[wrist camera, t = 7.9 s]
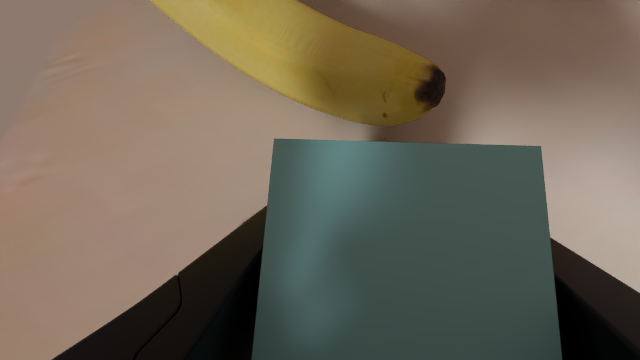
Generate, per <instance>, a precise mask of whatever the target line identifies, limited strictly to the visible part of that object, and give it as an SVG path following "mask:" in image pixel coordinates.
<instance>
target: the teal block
mask: <svg viewBox="0 0 640 360" xmlns="http://www.w3.org/2000/svg"><path fill="white" fill-rule="evenodd" d="M252 360H562V352H561V342H560V332H559V322H558V312H557V302H556V292H555V282H554V272H553V262H552V252H551V242H550V232H549V222H548V212H547V203H546V193H545V183H544V173H543V163H542V153H541V146H515V145H480V144H445V143H410V142H375V141H340V140H305V139H274V145H273V155H272V164H271V174H270V184H269V194H268V204H267V213H266V223H265V233H264V243H263V253H262V263H261V272H260V282H259V292H258V302H257V312H256V321H255V331H254V341H253V351H252Z"/></svg>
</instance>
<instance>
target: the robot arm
mask: <svg viewBox="0 0 640 360" xmlns="http://www.w3.org/2000/svg"><path fill="white" fill-rule="evenodd" d="M266 213H267V206H265V207H264V208H263V209H261V210H260V211H259V212H258V213H256V214H255V215H254V216H252V217H251V218H250V219H248V220H247V221H246V222H244V223H243V224H242V225H241V226H239V227H238V228H237V229H235V230H234V231H233V232H231V233H230V234H229V235H227V236H226V237H225V238H223V239H222V240H221V241H220V242H218V243H217V244H216V245H214V246H213V247H212V248H210V249H209V250H208V251H206V252H205V253H204V254H202V255H201V256H200V257H199V258H197V259H196V260H195V261H193V262H192V263H191V264H189V265H188V266H187V267H185V268H184V269H183V270H182V271H180V272H179V273H178V275H175V276H173V277H172V278H171V279H169V280H168V281H167V282H166V283H164V284H163V285H162V286H160V287H159V288H158V289H156V290H155V291H153V292H152V293H151V294H149V295H148V296H147V297H145V298H144V299H142V300H141V301H140V302H138V303H137V304H135V305H134V306H133V307H131V308H130V309H128V310H127V311H125V312H124V313H122V314H121V315H119V316H118V317H116V318H115V319H113V320H112V321H110V322H109V323H107V324H106V325H104V326H103V327H101V328H100V329H98V330H97V331H95V332H93V333H92V334H90V335H89V336H87V337H86V338H84V339H83V340H81V341H80V342H78V343H77V344H75V345H73V346H72V347H70V348H69V349H67V350H66V351H64V352H63V353H61V354H60V355H58V356H57V357H55V358H53V359H52V360H252V351H253V341H254V331H255V321H256V312H257V302H258V292H259V282H260V272H261V263H262V253H263V243H264V233H265V223H266ZM550 242H551V252H552V262H553V272H554V282H555V292H556V302H557V312H558V322H559V332H560V342H561V352H562V360H640V293H639V292H637V291H636V290H634V289H632V288H631V287H629V286H628V285H626V284H624V283H623V282H621V281H620V280H618V279H616V278H615V277H613V276H612V275H610V274H608V273H607V272H605V271H603V270H602V269H600V268H599V267H597V266H595V265H594V264H592V263H591V262H589V261H587V260H586V259H584V258H583V257H581V256H579V255H578V254H576V253H575V252H573V251H571V250H570V249H568V248H566V247H565V246H563V245H562V244H560V243H558V242H557V241H555V240H554V239H552V238H550Z"/></svg>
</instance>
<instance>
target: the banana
mask: <svg viewBox="0 0 640 360" xmlns="http://www.w3.org/2000/svg"><path fill="white" fill-rule="evenodd" d="M150 1H151V2H152V3H153V4H154V5H155V6H156V7H158V8H159V9H160V10H161V11H162V12H163V13H165V14H166V15H167V16H168V17H169V18H171V19H172V20H173V21H174V22H175V23H177V24H178V25H179V26H180V27H181V28H183V29H184V30H185V31H186V32H188V33H189V34H190V35H191V36H193V37H194V38H195V39H196V40H198V41H199V42H200V43H202V44H203V45H204V46H206V47H207V48H208V49H210V50H211V51H212V52H214V53H215V54H217V55H218V56H219V57H221V58H222V59H224V60H225V61H226V62H228V63H229V64H231V65H232V66H234V67H235V68H237V69H238V70H240V71H241V72H243V73H245V74H246V75H248V76H250V77H251V78H253V79H255V80H256V81H258V82H260V83H262V84H264V85H265V86H267V87H269V88H271V89H273V90H275V91H276V92H278V93H280V94H282V95H284V96H287V97H289V98H291V99H293V100H295V101H297V102H299V103H302V104H304V105H306V106H309V107H311V108H314V109H316V110H319V111H321V112H324V113H327V114H330V115H333V116H336V117H339V118H343V119H346V120H350V121H354V122H358V123H362V124H369V125H378V126H390V125H399V124H403V123H407V122H410V121H413V120H416V119H418V118H420V117H421V116H423V115H425V114H427V113H428V112H429V111H430V110H431V109H432V108H434V107H436V106H437V105H438V104H439V103H440V101H441V99H442V97H443V94H444V92H445V81H446V78H445V75H444V73H443V72H442V71H441V70H440V69H439V67H438V66H437V65H436V64H435V63H433V62H431V61H429V60H427V59H425V58H423V57H422V56H420V55H418V54H416V53H414V52H412V51H410V50H408V49H405V48H403V47H401V46H399V45H397V44H395V43H393V42H390V41H388V40H386V39H383V38H381V37H378V36H375V35H372V34H369V33H366V32H363V31H360V30H357V29H354V28H352V27H350V26H347V25H345V24H343V23H340V22H338V21H336V20H334V19H332V18H330V17H328V16H326V15H324V14H322V13H320V12H318V11H316V10H314V9H312V8H311V7H309V6H307V5H305V4H304V3H302V2H300V1H298V0H150Z"/></svg>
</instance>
